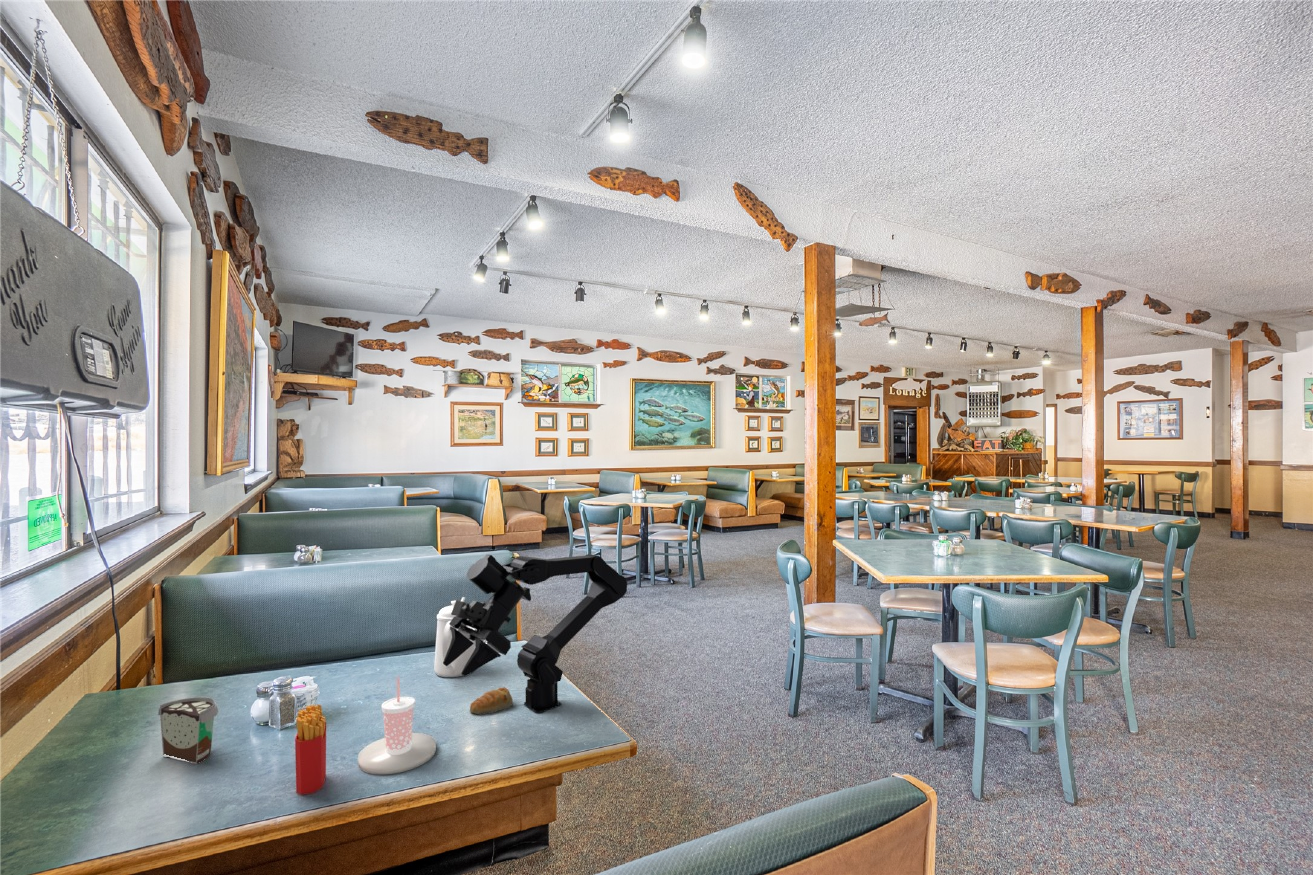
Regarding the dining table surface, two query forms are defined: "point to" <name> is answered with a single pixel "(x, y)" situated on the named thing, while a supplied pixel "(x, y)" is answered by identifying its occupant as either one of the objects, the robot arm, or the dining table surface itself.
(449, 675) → the coffeepot
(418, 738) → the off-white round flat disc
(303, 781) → the french fries
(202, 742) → the food container
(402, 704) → the beverage cup
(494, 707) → the pastry
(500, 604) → the robot arm
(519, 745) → the dining table surface
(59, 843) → the dining table surface
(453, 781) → the dining table surface
